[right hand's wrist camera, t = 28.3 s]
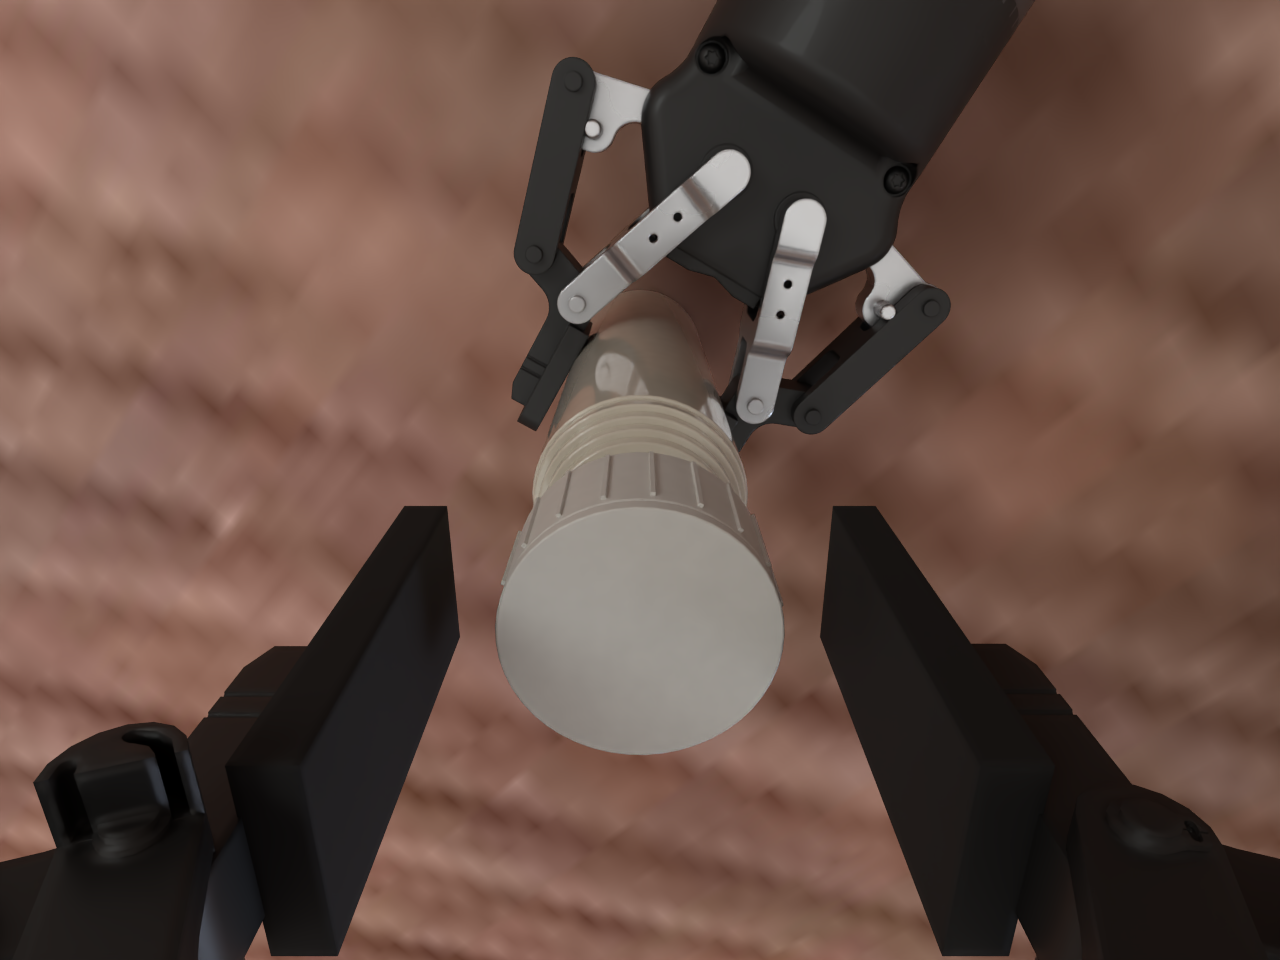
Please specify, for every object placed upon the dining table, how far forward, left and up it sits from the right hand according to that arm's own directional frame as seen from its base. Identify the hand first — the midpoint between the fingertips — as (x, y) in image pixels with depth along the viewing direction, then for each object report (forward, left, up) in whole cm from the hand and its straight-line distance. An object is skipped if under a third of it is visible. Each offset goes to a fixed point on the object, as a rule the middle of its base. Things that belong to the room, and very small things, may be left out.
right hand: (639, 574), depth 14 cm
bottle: (0, 0, -19) cm, 19 cm away
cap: (0, 0, +2) cm, 2 cm away
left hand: (-1, +2, -13) cm, 13 cm away
